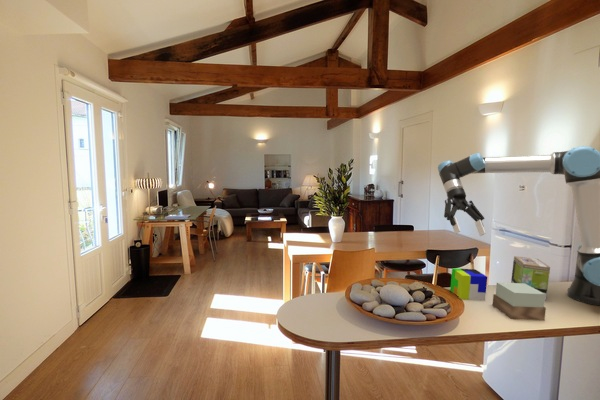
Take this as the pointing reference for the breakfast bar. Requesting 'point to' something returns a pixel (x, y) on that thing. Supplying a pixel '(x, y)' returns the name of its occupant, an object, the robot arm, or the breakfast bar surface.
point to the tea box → (531, 273)
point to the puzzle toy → (468, 284)
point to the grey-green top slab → (520, 295)
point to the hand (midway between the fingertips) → (470, 233)
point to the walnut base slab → (518, 310)
